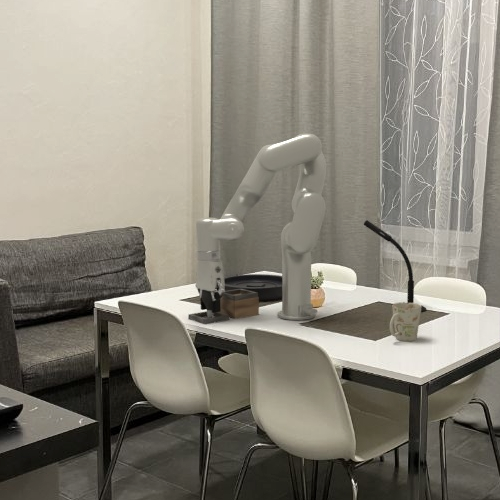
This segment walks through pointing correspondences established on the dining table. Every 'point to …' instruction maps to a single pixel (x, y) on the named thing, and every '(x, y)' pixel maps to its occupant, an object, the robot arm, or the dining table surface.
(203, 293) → the light bulb
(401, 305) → the mug
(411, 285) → the microphone
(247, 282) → the round tray
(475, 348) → the dining table surface
